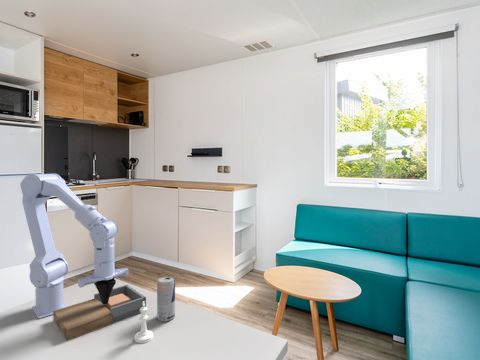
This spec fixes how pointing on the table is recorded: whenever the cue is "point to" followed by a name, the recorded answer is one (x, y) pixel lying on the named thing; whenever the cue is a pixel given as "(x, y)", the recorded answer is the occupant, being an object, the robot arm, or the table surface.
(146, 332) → the chess piece
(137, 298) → the tray
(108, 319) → the walnut plate
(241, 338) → the table surface
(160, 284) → the energy drink
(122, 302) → the terracotta tile
